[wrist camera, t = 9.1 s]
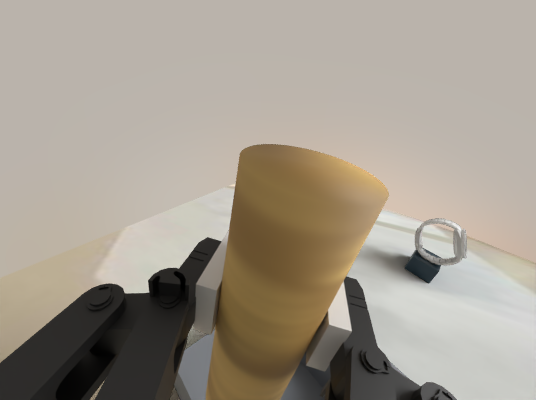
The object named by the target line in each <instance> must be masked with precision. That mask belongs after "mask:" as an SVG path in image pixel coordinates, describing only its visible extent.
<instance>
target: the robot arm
mask: <svg viewBox="0 0 536 400" xmlns="http://www.w3.org/2000/svg"><path fill="white" fill-rule="evenodd" d="M228 235H229V230H228V232H227V234H226V235H225V237H224V239H223V240H222V241H218V240H215V239H211V238H208V237H207V238H206V239H204V240H202V241H201V242H199V243H198V244H197V246H196V247H195V248H194V250H193V251H192V252H191V254H190V255H189V257H188V258H187V259H186V260H185V262H184V263H183V264H182V266H181V267H180V268H179V269H178V268H167V269H163V270H160V271H159V272H157V273H155V274H154V275H153V276H152V277H151V278H150V279H149V280H148V283H149V293H131V294H125V293H124V290H123V288H122V287H120V286H119V285H116V284H103V285H99V286H96V287H94V288H91V289H90V290H88V291H87V292H85V293H84V294H82V295H81V296H80V297H79V298H78V299H76V300H75V301H74V302H73V303H72V304H70V305H69V306H68V307H67V308H66V309H64V310H63V311H62V312H61V313H60V314H58V315H57V316H56V317H55V318H54V319H52V320H51V321H50V322H49V323H48V324H46V325H45V326H44V327H43V328H42V329H40V330H39V331H38V332H37V333H36V334H34V335H33V336H32V337H31V338H30V339H28V340H27V341H26V342H25V343H24V344H22V345H21V346H20V347H19V348H18V349H16V350H15V351H14V352H13V353H12V354H10V355H9V356H8V357H7V358H6V359H4V360H3V361H2V362H1V363H0V400H90V398H91V397H92V396H93V394H94V393H95V392H96V390H97V389H98V388H99V387H100V385H101V384H102V383H103V381H104V380H105V379H106V380H105V382H104V383H103V385H102V387H101V389H100V391H99V393H98V395H97V397H96V398H95V400H170V397H171V394H172V390H173V387H174V384H175V380H176V377H177V374H178V370H179V367H180V364H181V360H182V357H183V354H184V350H185V347H186V343H187V337H188V333H189V331H190V329H191V327H192V325H193V323H194V325H193V330H196V331H200V332H203V333H206V334H209V335H211V334H212V331H213V329H214V327H215V324H216V319H217V312H218V305H219V298H220V291H221V284H222V277H223V270H224V263H225V256H226V249H227V242H228ZM329 365H330V374H331V378H330V379H329V380H328V382H327V383H326V385H325V386H324V387H323V389H322V391H321V394H320V396H321V397H322V398H323V396H324V395H325V400H457V399H456V398H455V397H454V396H453V395H452V394H451V393H450V392H448V391H447V390H446V389H445V388H443V387H442V386H440V385H438V384H435V383H432V382H426V383H425V384H424V385H422V386H419V385H418V384H416V383H414V382H413V381H411V380H410V379H408V378H407V377H405V376H404V375H402V374H401V373H399V372H398V371H396V370H395V369H394V368H393V367H392V366H391V364H390V362H389V360H388V359H387V357H386V355H385V354H384V353H383V352H382V351H381V350H380V349H379V348H378V346H377V343H376V339H375V335H374V332H373V328H372V324H371V320H370V316H369V312H368V310H367V304H366V302H365V297H364V293H363V289H362V288H361V286H360V285H359V283H358V281H357V280H356V279H353V278H349V277H345V279H344V281H343V283H342V285H341V287H340V289H339V290H338V292H337V294H336V296H335V298H334V300H333V302H332V303H331V305H330V307H329V309H328V311H327V313H326V315H325V317H324V318H323V320H322V322H321V324H320V326H319V328H318V330H317V332H316V333H315V335H314V337H313V339H312V341H311V343H310V345H309V346H308V348H307V350H306V366H309V367H312V368H315V369H319V370H322V371H326V369H327V368H328V366H329ZM106 377H107V378H106Z"/></svg>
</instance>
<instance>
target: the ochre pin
mask: <svg viewBox="0 0 536 400" xmlns="http://www.w3.org/2000/svg"><path fill="white" fill-rule="evenodd" d="M388 196H389V193H388V190H387V188H386V187H385V185H384V184H383V183H382V182H381V181H380V180H378V179H377V178H376V177H374V176H373V175H371V174H370V173H368V172H367V171H365V170H363V169H361V168H359V167H357V166H355V165H353V164H351V163H348V162H346V161H344V160H341V159H338V158H336V157H333V156H330V155H327V154H323V153H320V152H317V151H313V150H309V149H304V148H298V147H293V146H287V145H276V144H263V145H262V144H261V145H254V146H250V147H247V148H245V149H244V150H242V151H241V153H240V157H239V164H238V172H237V178H236V185H235V192H234V199H233V207H232V214H231V221H230V228H229V235H228V242H227V249H226V256H225V263H224V270H223V277H222V284H221V291H220V298H219V305H218V312H217V319H216V326H215V333H214V340H213V347H212V354H211V361H210V368H209V375H208V382H207V389H206V400H280V399H281V397H282V395H283V393H284V391H285V389H286V388H287V386H288V384H289V382H290V380H291V378H292V376H293V375H294V373H295V371H296V369H297V367H298V365H299V363H300V361H301V360H302V358H303V356H304V354H305V352H306V350H307V348H308V346H309V345H310V343H311V341H312V339H313V337H314V335H315V333H316V332H317V330H318V328H319V326H320V324H321V322H322V320H323V318H324V317H325V315H326V313H327V311H328V309H329V307H330V305H331V303H332V302H333V300H334V298H335V296H336V294H337V292H338V290H339V289H340V287H341V285H342V283H343V281H344V279H345V277H346V275H347V274H348V272H349V270H350V268H351V266H352V264H353V262H354V261H355V259H356V257H357V255H358V253H359V251H360V249H361V247H362V246H363V244H364V242H365V240H366V238H367V236H368V234H369V232H370V231H371V229H372V227H373V225H374V223H375V221H376V219H377V218H378V216H379V214H380V212H381V210H382V208H383V206H384V204H385V203H386V201H387V198H388Z"/></svg>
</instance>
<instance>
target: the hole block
mask: <svg viewBox="0 0 536 400" xmlns="http://www.w3.org/2000/svg"><path fill="white" fill-rule="evenodd" d="M214 333H215V329H214V330H213V331H212V334H211V335H209V334H207V335H206V336H204V337H203V338H201V339H200V340H198V341H197V342H196V343H194V344H193V345H191V346H190V347H188V348H187V349H186V350H184V354H183V357H182V360H181V364H180V367H179V370H178V374H177V377H176V380H175V384H174V386H175V389H176V391H177V393H178V395H179V398H180V400H206V389H207V382H208V375H209V368H210V361H211V354H212V347H213V340H214ZM389 362H390V361H389ZM390 364H391V366H392V367H393V368H394V369H395V370H396V371H398V372H399V373H401V374H402V375H404V374H403V373H402V372H401V371H400V370H399V369H397V368H396V367H395V366H394V365H393V364H392V363H391V362H390ZM404 376H405V375H404ZM405 377H406V376H405ZM330 378H331V374H330V365H329V366H328V368H327V369H326V371H322V370H319V369H315V368H312V367H309V366H306V352H305V354H304V356H303V358H302V360H301V361H300V363H299V365H298V367H297V369H296V371H295V373H294V375H293V376H292V378H291V380H290V382H289V384H288V386H287V388H286V389H285V391H284V393H283V395H282V397H281V399H280V400H325V395H324V396H323V398H322V397H321V396H320V394H321V391H322V389H323V387H324V386H325V385H326V383H327V382H328V380H329V379H330ZM408 379H409V378H408Z"/></svg>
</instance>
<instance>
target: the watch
mask: <svg viewBox="0 0 536 400" xmlns="http://www.w3.org/2000/svg"><path fill="white" fill-rule="evenodd" d="M432 223H433V224H438V223H439V224H444V225H447V226H449V227H452V228H453V229H455V230H454V238H453V244H454V254H455V256H456V257H455V258H449V259H443V258H441V257H439V256H437V255H435V254H433V253H431V252H430V251H428V250H426V249H424V248H422V247H423V245H422V230H423V228H424V226H426V225H429V224H432ZM415 247H416V250H415V252H414V253H413V254H412V256H411V257H410V259H409V261H408V262H407V264H406V266H405V269H406V270H408V271H409V272H411V273H413V274H414V275H416V276H418V277H419V278H421V279H422V280H424V281H426V282H427V283H430V282H431V280H432V279H433V278H434V277H435V276H436V274H437V273H438V272H439V270H440V266H441V265H453V264H456V263H459V262H460V261H461V259H462V258H465V259H466V256H467V236H466V231H465V229H463V230H462V229H461V227H460V226H459V225H458V224H457V223H455V222H452V221H450V220H446V219H439V218H436V219H431V220H428V221H425V222H424V223H423V224H421V226H420V227H419V228H418V229H417V231H416V234H415Z"/></svg>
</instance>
